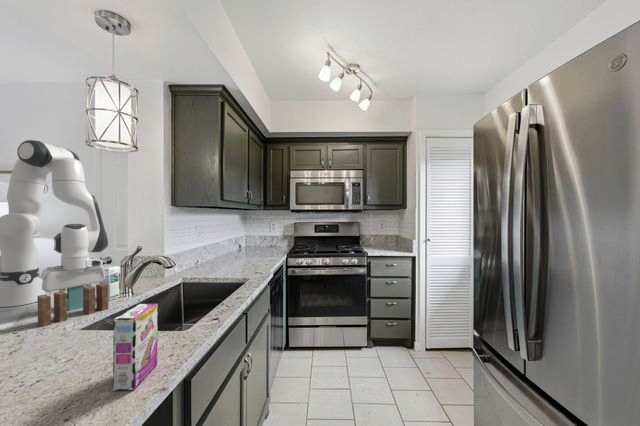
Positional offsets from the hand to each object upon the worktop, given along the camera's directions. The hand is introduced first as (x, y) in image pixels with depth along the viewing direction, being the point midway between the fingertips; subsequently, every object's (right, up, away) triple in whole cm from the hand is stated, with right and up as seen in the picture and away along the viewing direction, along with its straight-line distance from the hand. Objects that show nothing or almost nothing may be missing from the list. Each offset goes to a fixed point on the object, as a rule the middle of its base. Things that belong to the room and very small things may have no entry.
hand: (75, 297), depth 119 cm
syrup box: (+4, -5, +14) cm, 15 cm away
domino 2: (+5, -5, -12) cm, 14 cm away
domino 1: (+3, -5, -16) cm, 17 cm away
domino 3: (0, -5, 0) cm, 5 cm away
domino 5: (+11, -5, 0) cm, 12 cm away
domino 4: (+9, -5, -4) cm, 11 cm away
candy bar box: (+56, -6, -49) cm, 74 cm away
